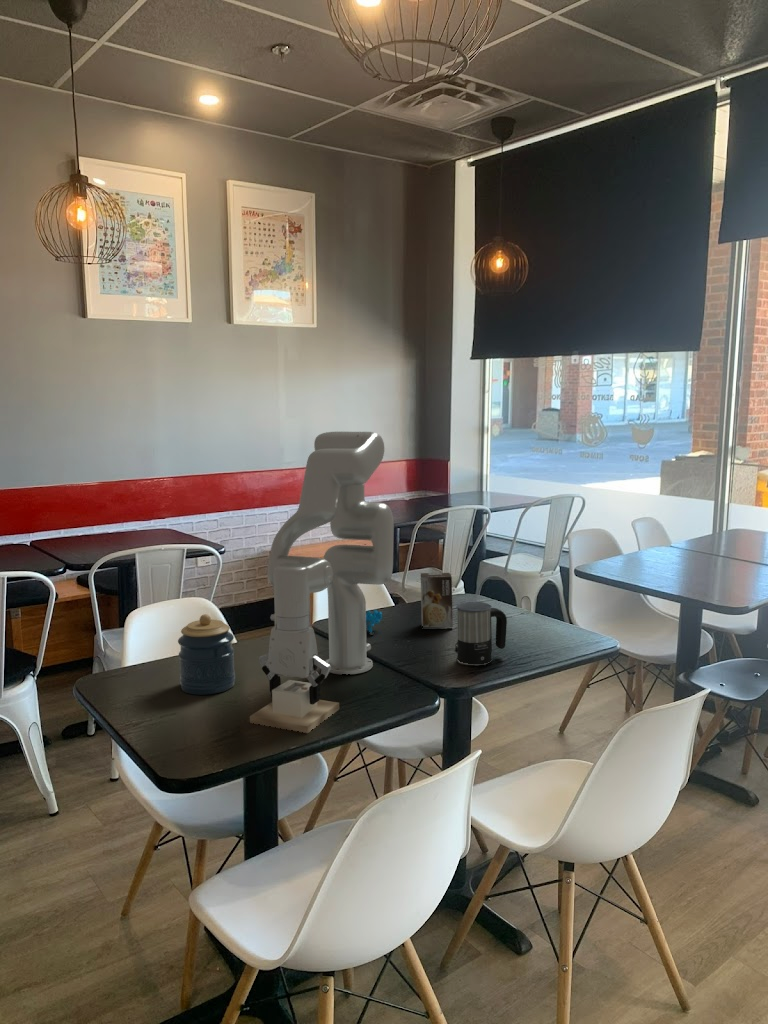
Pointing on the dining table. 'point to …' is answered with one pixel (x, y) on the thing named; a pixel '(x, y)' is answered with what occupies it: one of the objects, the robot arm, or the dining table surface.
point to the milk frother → (478, 632)
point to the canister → (206, 657)
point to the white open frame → (292, 699)
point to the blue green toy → (372, 619)
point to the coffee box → (436, 600)
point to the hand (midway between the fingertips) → (295, 699)
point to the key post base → (295, 723)
